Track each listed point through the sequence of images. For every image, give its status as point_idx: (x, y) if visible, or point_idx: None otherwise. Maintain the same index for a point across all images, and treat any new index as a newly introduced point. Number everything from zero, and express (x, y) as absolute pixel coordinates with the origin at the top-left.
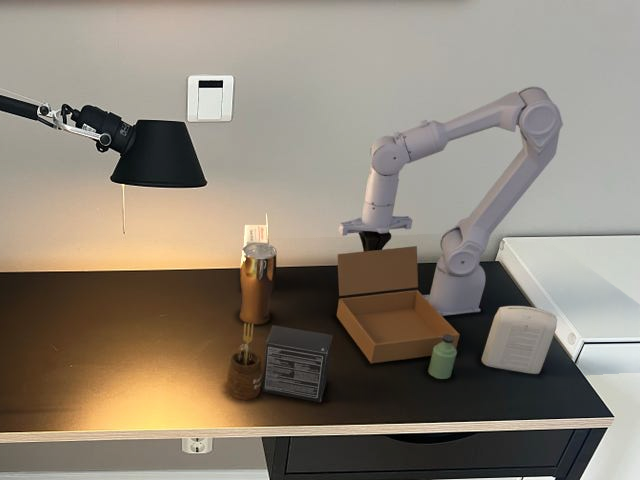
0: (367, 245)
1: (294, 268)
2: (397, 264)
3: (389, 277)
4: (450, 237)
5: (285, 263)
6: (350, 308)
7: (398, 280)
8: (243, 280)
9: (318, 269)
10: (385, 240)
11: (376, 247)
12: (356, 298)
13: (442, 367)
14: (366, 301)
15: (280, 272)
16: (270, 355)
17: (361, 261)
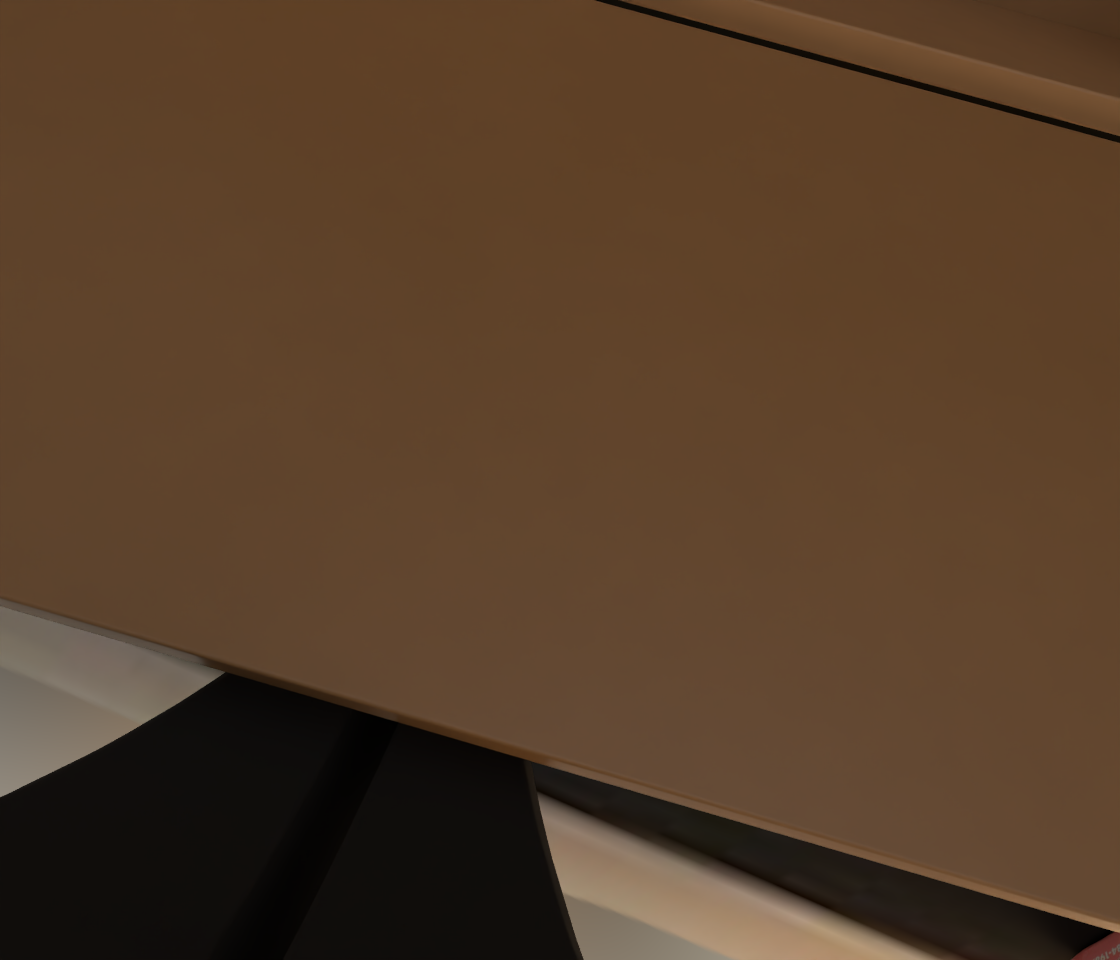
0: (561, 934)
1: (793, 882)
2: (47, 234)
3: (333, 106)
4: None
5: (802, 943)
6: (1070, 48)
7: (187, 5)
8: None
9: (629, 796)
10: (34, 887)
11: (321, 783)
12: (1034, 69)
13: None
14: (835, 4)
15: (940, 898)
16: None
17: (845, 602)
